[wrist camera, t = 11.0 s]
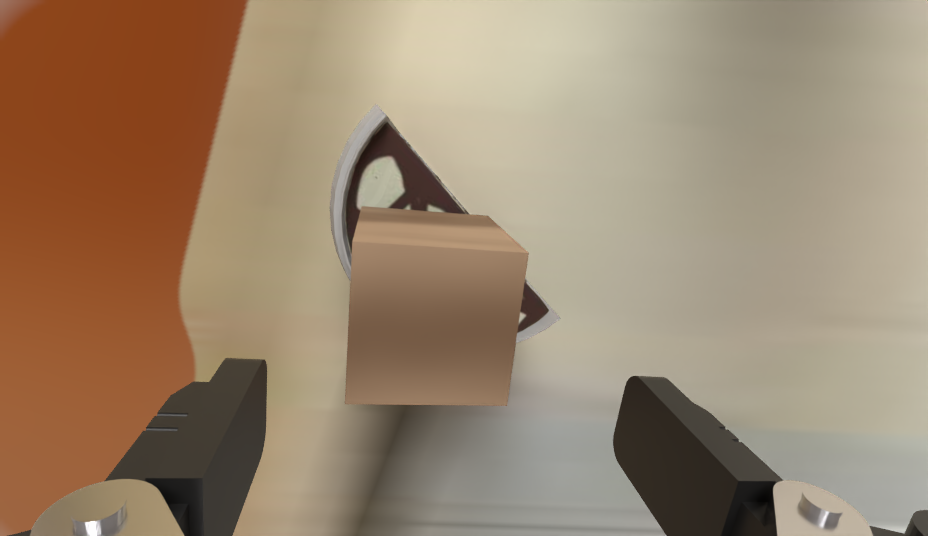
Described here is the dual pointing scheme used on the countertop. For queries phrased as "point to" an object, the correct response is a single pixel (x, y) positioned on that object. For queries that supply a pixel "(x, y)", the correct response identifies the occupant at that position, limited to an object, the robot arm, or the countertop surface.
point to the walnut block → (432, 309)
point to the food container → (401, 198)
